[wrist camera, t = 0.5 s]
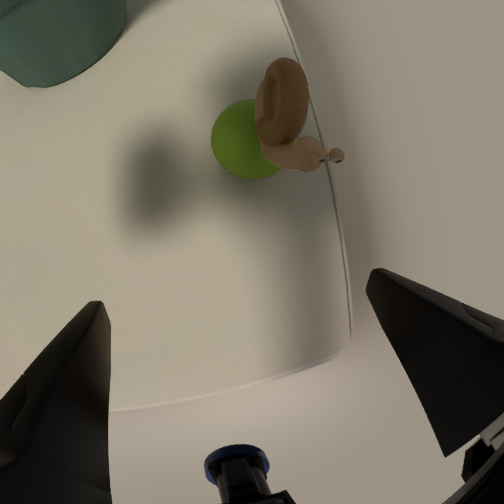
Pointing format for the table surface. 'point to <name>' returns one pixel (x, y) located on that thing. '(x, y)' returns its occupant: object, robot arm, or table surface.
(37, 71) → the flower pot
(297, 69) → the snail figurine
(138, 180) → the table surface
